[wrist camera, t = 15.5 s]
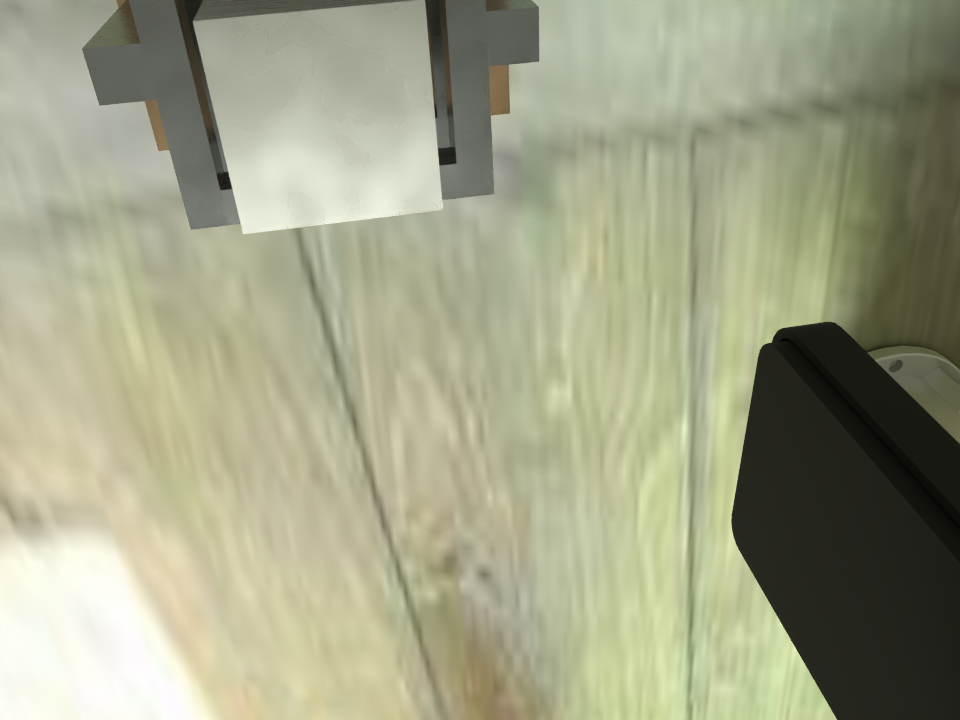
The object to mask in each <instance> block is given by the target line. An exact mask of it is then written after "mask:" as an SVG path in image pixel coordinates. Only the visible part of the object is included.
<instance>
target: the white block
mask: <svg viewBox="0 0 960 720" xmlns="http://www.w3.org/2000/svg"><path fill="white" fill-rule="evenodd" d="M193 25H194V29H195V33H196V37H197V42H198V46H199V50H200V54H201V59H202V63H203V67H204V71H205V75H206V80H207V84H208V88H209V92H210V97H211V101H212V105H213V109H214V113H215V118H216V122H217V126H218V130H219V134H220V139H221V143H222V147H223V151H224V156H225V160H226V164H227V168H228V172H229V177H230V181H231V185H232V189H233V194H234V198H235V202H236V206H237V210H238V215H239V219H240V223H241V227H242V231H243V234H249V233H257V232H265V231H273V230H281V229H290V228H298V227H306V226H314V225H322V224H330V223H339V222H347V221H355V220H363V219H371V218H379V217H388V216H396V215H404V214H412V213H420V212H428V211H437V210H443V205H442V193H441V181H440V170H439V158H438V146H437V135H436V123H435V111H434V100H433V88H432V76H431V64H430V53H429V41H428V29H427V18H426V6H425V0H203V2H202V4H201V6H200V8H199V10H198V12H197V14H196V16H195V18H194V20H193Z"/></svg>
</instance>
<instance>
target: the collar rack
mask: <svg viewBox="0 0 960 720" xmlns="http://www.w3.org/2000/svg"><path fill="white" fill-rule="evenodd" d="M202 2H203V0H117V3H118V7H119V9H118V10H117V11H116V12H115V13H114V14H113V15H112V16H111V17H110V19H109V20H108V21H107V22H106V23H105V24H104V25H103V26H102V27H101V29H100V30H99V31H98V32H97V33H96V34H95V35H94V36H93V37H92V39H91V40H90V41H89V42H88V43H87V44H86V45H85V46H84V47H83V49H82V50H83V53H84V57H85V60H86V63H87V66H88V69H89V73H90V76H91V79H92V82H93V86H94V89H95V92H96V95H97V98H98V102H99V105H109V104H119V103H129V102H139V101H145V104H146V107H147V111H148V114H149V118H150V122H151V125H152V129H153V132H154V136H155V140H156V143H157V147H158V150H159V151H162V150H170V154H171V158H172V161H173V165H174V169H175V172H176V176H177V180H178V183H179V187H180V191H181V195H182V198H183V202H184V206H185V209H186V213H187V217H188V220H189V224H190V228H191V230H192V229H200V228H209V227H217V226H226V225H234V224H241V223H240V219H239V215H238V210H237V206H236V202H235V198H234V194H233V189H232V185H231V181H230V177H229V172H228V168H227V164H226V160H225V156H224V151H223V147H222V143H221V139H220V134H219V130H218V126H217V122H216V118H215V113H214V109H213V105H212V101H211V97H210V92H209V88H208V84H207V80H206V75H205V71H204V67H203V63H202V59H201V54H200V50H199V46H198V42H197V37H196V33H195V29H194V25H193V20H194V18H195V16H196V14H197V12H198V10H199V8H200V6H201V4H202ZM425 6H426V18H427V29H428V41H429V53H430V64H431V76H432V88H433V100H434V111H435V123H436V135H437V146H438V158H439V170H440V181H441V193H442V200H446V199H455V198H463V197H472V196H480V195H489V194H494V179H493V156H492V133H491V115H499V114H508V113H510V100H509V67H508V65H509V64H519V63H529V62H539V7H538V6H537V5H536V4H535V3H534V2H533V1H531V0H425Z"/></svg>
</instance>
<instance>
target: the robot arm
mask: <svg viewBox="0 0 960 720" xmlns="http://www.w3.org/2000/svg"><path fill="white" fill-rule="evenodd" d="M731 522H732V531H733V535H734V539H735V542H736V544H737V546H738V549H739V551H740V552H741V554H742V556H743V557H744V559H745V561H746V563H747V564H748V566H749V568H750V570H751V571H752V573H753V575H754V577H755V578H756V580H757V582H758V583H759V585H760V587H761V589H762V590H763V592H764V594H765V596H766V597H767V599H768V601H769V602H770V604H771V606H772V608H773V609H774V611H775V613H776V615H777V616H778V618H779V620H780V622H781V623H782V625H783V627H784V628H785V630H786V632H787V634H788V635H789V637H790V639H791V641H792V642H793V644H794V646H795V647H796V649H797V651H798V653H799V654H800V656H801V658H802V660H803V661H804V663H805V665H806V667H807V668H808V670H809V672H810V673H811V675H812V677H813V679H814V680H815V682H816V684H817V686H818V687H819V689H820V691H821V692H822V694H823V696H824V698H825V699H826V701H827V703H828V705H829V706H830V708H831V710H832V712H833V713H834V715H835V717H836V718H837V720H960V370H959V369H958V368H957V367H956V366H955V365H954V364H952V363H951V362H950V361H949V360H948V359H947V358H945V357H944V356H942V355H940V354H939V353H937V352H936V351H933V350H929V349H926V348H923V347H916V346H895V347H886V348H882V349H878V350H874V351H871V352H866V351H865V350H864V349H863V348H862V347H861V346H860V345H859V344H858V343H857V342H856V341H855V340H854V339H853V338H852V337H851V336H850V335H849V334H848V333H847V332H846V331H845V330H844V329H842V328H841V327H840V326H839V325H837V324H836V323H833V322H823V323H816V324H809V325H802V326H795V327H788V328H782V329H780V330H779V331H777V333H776V334H775V336H774V338H773V341H772V343H767V344H765V345H763V346H762V348H761V350H760V353H759V356H758V362H757V368H756V374H755V380H754V386H753V392H752V398H751V404H750V410H749V416H748V422H747V428H746V433H745V439H744V445H743V451H742V457H741V463H740V469H739V475H738V481H737V487H736V493H735V499H734V505H733V511H732V521H731Z"/></svg>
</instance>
